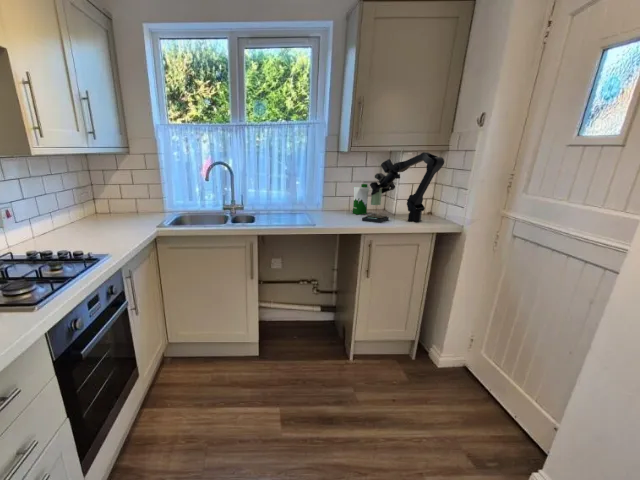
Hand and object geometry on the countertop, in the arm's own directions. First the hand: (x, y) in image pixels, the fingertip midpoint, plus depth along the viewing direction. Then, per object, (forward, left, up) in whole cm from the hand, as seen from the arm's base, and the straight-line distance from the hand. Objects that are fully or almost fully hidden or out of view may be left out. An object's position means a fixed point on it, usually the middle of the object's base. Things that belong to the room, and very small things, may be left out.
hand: (375, 194), depth 247 cm
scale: (-12, +22, -13) cm, 29 cm away
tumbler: (-1, 0, -7) cm, 7 cm away
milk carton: (+9, +3, -14) cm, 17 cm away
